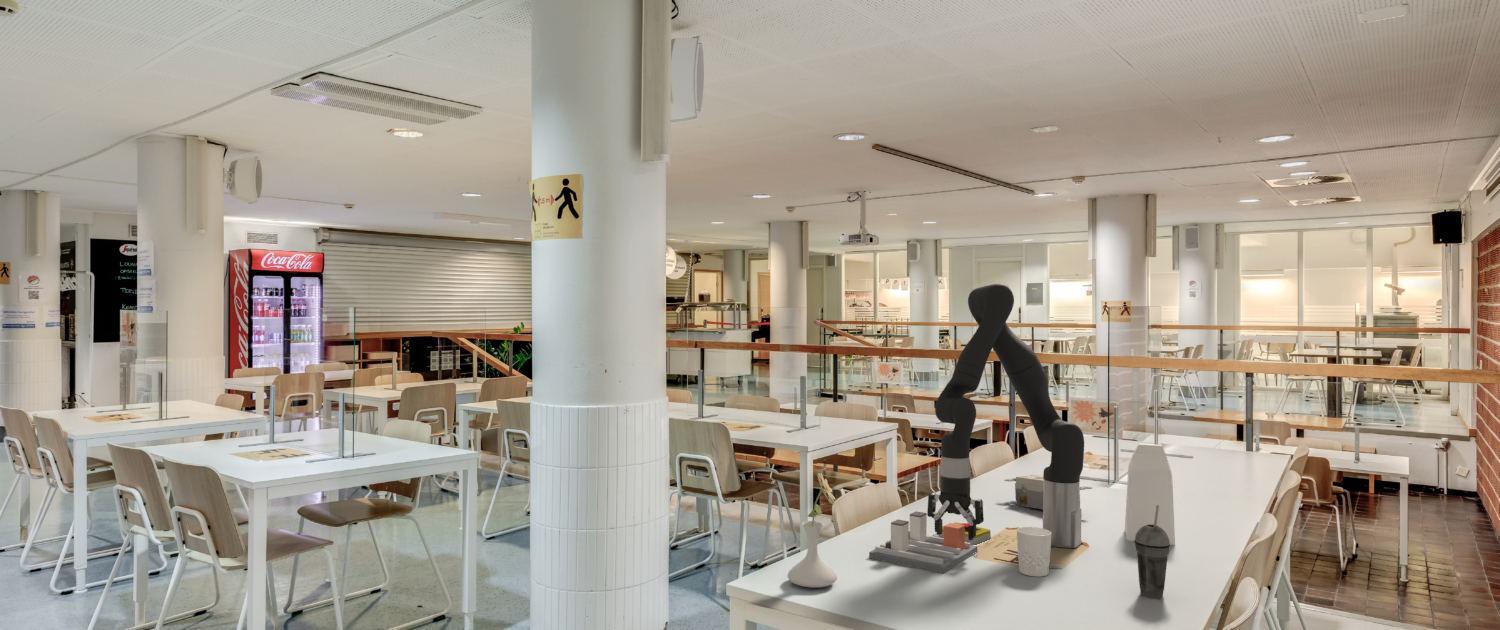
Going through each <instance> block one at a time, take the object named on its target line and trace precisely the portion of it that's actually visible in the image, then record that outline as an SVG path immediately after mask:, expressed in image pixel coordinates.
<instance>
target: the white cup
mask: <svg viewBox="0 0 1500 630" xmlns="http://www.w3.org/2000/svg"><path fill="white" fill-rule="evenodd" d="M1016 541H1017V543H1016V546H1017V560H1018V571H1019V572H1020V574H1023V575H1025V576H1029V577H1036V578H1037V577H1038V578H1039V577H1040V578H1041V577H1046V576H1048V575H1049V573H1050V562H1051V561H1050V559H1051V557H1050V556H1051V549H1052V548H1051V547H1052V546H1051V532H1050V531H1049V530H1046V529H1043V527H1034V526H1023V527H1018V528H1017V529H1016Z"/></svg>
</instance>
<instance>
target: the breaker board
mask: <svg viewBox="0 0 1500 630" xmlns="http://www.w3.org/2000/svg"><path fill="white" fill-rule="evenodd" d="M909 535H910V530H909ZM975 552H977V553H978V547H977V546H973V545H971V543H967V542H965V549H963V550H961V549H959V548H953V547H948V546H944V538H939V537H935V536H933V535H928V534H926V541H925V542H921V541H915V540H910V539H909V544H908V551H906V552H904V551H899V550H894V549H891V539H890V540H887V541H886V542H885V543H884V544H880V545H879V546H875V547H874V549H873V550H871V551H869V552H868V557H869V559H873V560H878V561H883V562H886V563H891V564H896V565H902V566H906V567H911V568H916V569H921V570H924V571H925V570H927V571H931V572H936V573H941V574H945V573H947V572H948V571H950V570H951V569H953V568H954V567H956V566H958V565H959V564H961V563H962V562H964V561H966V560H967V559H969V558H970V557H972V556H974V555H973V553H975ZM975 554H976V553H975Z"/></svg>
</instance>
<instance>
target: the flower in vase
mask: <svg viewBox="0 0 1500 630" xmlns="http://www.w3.org/2000/svg"><path fill="white" fill-rule="evenodd" d="M817 480H818V482H819V485H820V487H821V489H820V491H819V492H818V495H817V497H816V500H815V501H814V505H813V510H811V511H810V513H809V514H808V515H807V517H808V518H812V520H806V521H803V522H802V523H801V525H802V527H803V528H804V530H805V533H806V538H807V552H806V555H805V557H804V558H803V559H801V560H800V561H799V562H797V563H796V564H795V565H794V566H792V567H791V569H790V570H789V571H788V573H787V579H788V580H789V581H790V582H791V583H792V584H795V585H796V586H800V587H802V588H803V587H804V588H812V589H813V588H814V589H815V588H824V587H828V586H831V585H833V584H834V583H836V581H837V580H838V576H837V572H836V571H835V570H834V569H833V568H832V567H831V566H830V565H829V564H827V563H826V562H825V561H824V560H823V559H822V558H821V557H820V555H819V553H818V542H819V535H820V532H821V530H822V528H823V526H824V525H825V524H824V522H821V521H817V520H815V517H817V516H821V515H822V512H823V511H822V509H821V506H820V505H819V504H817V502H818V500H819V498H820V496H821V494H822V493H823V494H824V496H825V498H826V499H827V501H828V503H830V504H831V505H835V504H836V502H835V501H836V498H835V496H834V495H833V489H832V488H831V487H830V485H829V483H828V480H827V478H824V476H823V473H822V472H821V473H819V472H818V473H817Z"/></svg>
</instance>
